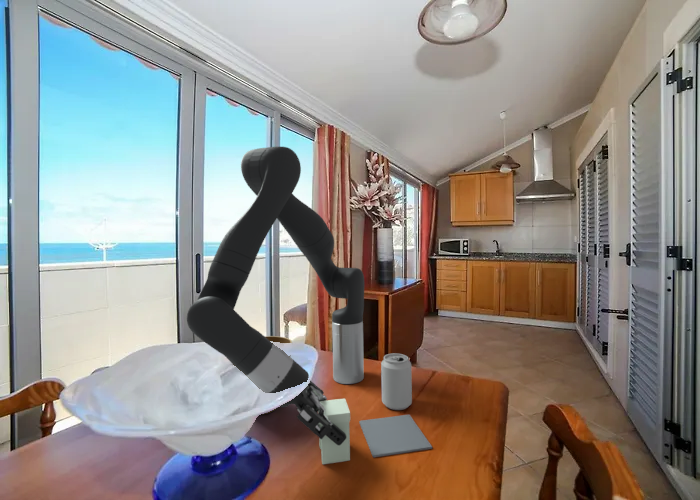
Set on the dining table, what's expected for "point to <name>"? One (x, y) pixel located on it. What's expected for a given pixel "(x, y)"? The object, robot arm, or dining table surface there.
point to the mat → (393, 435)
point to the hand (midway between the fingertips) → (339, 427)
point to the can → (396, 381)
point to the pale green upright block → (340, 418)
